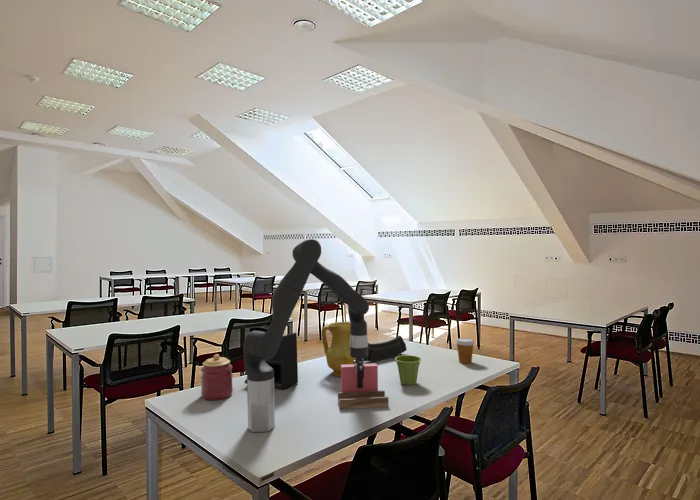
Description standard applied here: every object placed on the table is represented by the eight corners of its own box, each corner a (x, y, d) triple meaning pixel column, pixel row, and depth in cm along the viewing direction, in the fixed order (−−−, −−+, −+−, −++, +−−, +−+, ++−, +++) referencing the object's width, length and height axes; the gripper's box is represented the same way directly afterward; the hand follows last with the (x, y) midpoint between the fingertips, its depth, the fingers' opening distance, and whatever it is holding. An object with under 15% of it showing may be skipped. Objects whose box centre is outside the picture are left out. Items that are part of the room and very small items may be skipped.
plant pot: (390, 383, 201) (389, 358, 200) (406, 377, 209) (405, 353, 209) (411, 389, 192) (410, 363, 192) (426, 382, 201) (426, 358, 201)
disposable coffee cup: (454, 359, 239) (454, 337, 239) (472, 359, 239) (472, 337, 239) (458, 364, 230) (457, 341, 230) (476, 364, 229) (476, 341, 229)
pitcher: (342, 380, 205) (340, 325, 206) (318, 373, 219) (317, 323, 221) (369, 373, 216) (367, 322, 218) (344, 368, 231) (343, 320, 232)
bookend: (244, 382, 205) (243, 332, 205) (260, 376, 215) (259, 328, 214) (283, 390, 193) (282, 337, 193) (298, 383, 203) (297, 332, 202)
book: (377, 394, 184) (377, 365, 184) (341, 396, 182) (341, 367, 182) (376, 391, 188) (376, 363, 188) (341, 393, 186) (340, 364, 186)
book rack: (388, 406, 172) (388, 397, 172) (339, 409, 170) (339, 400, 170) (384, 398, 181) (384, 390, 181) (338, 401, 179) (337, 392, 179)
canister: (224, 388, 197) (223, 349, 197) (238, 395, 187) (237, 354, 187) (196, 395, 189) (195, 354, 188) (208, 403, 179) (208, 359, 179)
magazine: (362, 347, 233) (401, 324, 250) (358, 346, 235) (397, 323, 253) (370, 377, 236) (407, 352, 253) (366, 375, 238) (403, 351, 256)
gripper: (370, 348, 178) (370, 391, 178) (365, 341, 192) (365, 380, 192) (351, 349, 177) (352, 392, 177) (348, 341, 192) (348, 381, 192)
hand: (359, 385), depth 185 cm, fingers closed on book, 4 cm apart
